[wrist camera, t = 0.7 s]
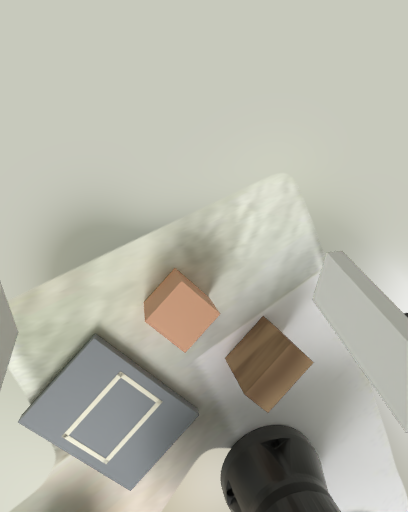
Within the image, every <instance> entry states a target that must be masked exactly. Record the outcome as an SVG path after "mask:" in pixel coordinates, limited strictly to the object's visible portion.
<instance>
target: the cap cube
mask: <svg viewBox="0 0 408 512" xmlns="http://www.w3.org/2000/svg"><path fill="white" fill-rule="evenodd" d="M144 313H145V322H146V323H148V324H149V325H150V326H151V327H153V328H154V329H155V330H156V331H158V332H159V333H160V334H162V335H163V336H164V337H165V338H167V339H168V340H169V341H171V342H172V343H173V344H174V345H176V346H177V347H178V348H179V349H181V350H182V351H183V352H186V351H187V350H188V349H189V348H190V347H191V346H192V345H193V344H194V343H195V341H196V340H197V339H198V338H199V337H200V336H201V335H202V334H203V333H204V331H205V330H206V329H207V328H208V327H209V326H210V325H211V324H212V323H213V321H214V320H215V319H216V318H217V317H218V316H219V315H220V313H219V311H218V310H217V309H216V307H215V306H214V304H213V303H212V301H211V300H210V299H209V297H208V296H207V295H206V294H205V293H203V292H202V291H201V290H200V289H199V288H198V287H197V286H195V285H194V284H193V283H192V282H191V281H190V280H188V279H187V278H186V277H185V276H184V275H183V274H181V273H180V272H179V271H178V270H177V269H176V268H174V269H173V271H172V272H171V273H170V274H169V275H168V276H167V277H166V278H165V279H164V281H163V282H162V283H161V284H160V285H159V286H158V287H157V288H156V289H155V290H154V292H153V293H152V294H151V295H150V296H149V297H148V298H147V299H146V300H145V302H144Z"/></svg>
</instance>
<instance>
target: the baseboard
mask: <svg viewBox="0 0 408 512" xmlns="http://www.w3.org/2000/svg"><path fill="white" fill-rule="evenodd" d="M198 416H199V414H198V410H197V408H196V407H194V406H193V405H192V404H190V403H189V402H187V401H186V400H185V399H183V398H182V397H181V396H179V395H178V394H177V393H175V392H174V391H173V390H171V389H170V388H169V387H167V386H166V385H164V384H163V383H162V382H160V381H159V380H158V379H156V378H155V377H154V376H152V375H151V374H150V373H148V372H147V371H145V370H144V369H143V368H141V367H140V366H139V365H137V364H136V363H135V362H133V361H132V360H131V359H129V358H128V357H126V356H125V355H124V354H122V353H121V352H120V351H118V350H117V349H116V348H114V347H113V346H112V345H110V344H109V343H107V342H106V341H105V340H103V339H102V338H101V337H99V336H98V335H97V334H94V335H93V337H92V338H91V339H90V340H89V341H88V342H87V343H86V344H85V345H84V347H83V348H82V349H81V350H80V351H79V352H78V353H77V354H76V355H75V356H74V358H73V359H72V360H71V361H70V362H69V363H68V364H67V365H66V366H65V368H64V369H63V370H62V371H61V372H60V373H59V374H58V375H57V376H56V378H55V379H54V380H53V381H52V382H51V383H50V384H49V385H48V386H47V388H46V389H45V390H44V391H43V392H42V393H41V394H40V395H39V396H38V397H37V399H36V400H35V401H34V402H33V403H32V404H31V405H30V406H29V408H28V409H27V410H26V411H25V412H24V413H23V414H22V416H21V418H20V419H19V421H18V423H20V424H21V425H23V426H25V427H26V428H28V429H30V430H31V431H33V432H35V433H36V434H38V435H39V436H41V437H43V438H45V439H46V440H48V441H49V442H51V443H53V444H54V445H56V446H58V447H59V448H61V449H62V450H64V451H66V452H67V453H69V454H71V455H72V456H74V457H76V458H77V459H79V460H80V461H82V462H84V463H85V464H87V465H89V466H90V467H92V468H94V469H95V470H97V471H98V472H100V473H102V474H103V475H105V476H107V477H108V478H110V479H112V480H113V481H115V482H117V483H118V484H120V485H121V486H123V487H125V488H126V489H128V490H130V491H131V490H132V489H133V488H134V487H135V486H136V484H137V483H138V482H139V481H140V480H141V479H142V478H143V477H144V476H145V474H146V473H147V472H148V471H149V470H150V469H151V468H152V467H153V466H154V464H155V463H156V462H157V461H158V460H159V459H160V458H161V457H162V456H163V455H164V453H165V452H166V451H167V450H168V449H169V448H170V447H171V446H172V445H173V443H174V442H175V441H176V440H177V439H178V438H179V437H180V436H181V435H182V433H183V432H184V431H185V430H186V429H187V428H188V427H189V426H190V425H191V423H192V422H193V421H194V420H195V419H196V418H197V417H198Z"/></svg>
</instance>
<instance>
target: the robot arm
mask: <svg viewBox="0 0 408 512" xmlns="http://www.w3.org/2000/svg"><path fill="white" fill-rule="evenodd" d="M312 300H313V301H314V303H315V304H316V306H317V307H318V308H319V310H320V311H321V313H322V314H323V316H324V317H325V318H326V320H327V321H328V323H329V324H330V326H331V327H332V328H333V330H334V331H335V333H336V334H337V335H338V337H339V338H340V340H341V341H342V343H343V344H344V345H345V347H346V348H347V350H348V351H349V353H350V354H351V355H352V357H353V358H354V360H355V361H356V362H357V364H358V365H359V367H360V368H361V370H362V371H363V372H364V374H365V375H366V377H367V378H368V380H369V381H370V382H371V384H372V385H373V387H374V388H375V389H376V391H377V392H378V394H379V395H380V396H381V398H382V399H383V401H384V402H385V404H386V405H387V407H388V408H389V409H390V411H391V412H392V414H393V415H394V416H395V418H396V419H397V421H398V422H399V423H400V425H401V426H402V428H403V429H404V431H405V432H406V433H407V432H408V313H403V312H402V311H400V309H399V308H397V306H396V305H395V304H394V303H393V302H392V301H391V300H390V299H389V298H388V297H387V296H386V295H385V294H384V293H383V292H382V291H381V290H380V289H379V288H378V287H377V286H376V285H375V284H374V283H373V282H372V281H371V280H370V279H369V278H368V277H367V276H366V275H365V274H364V273H363V272H362V271H361V270H360V269H359V268H358V267H357V266H356V265H355V263H354V262H353V261H352V260H351V259H350V258H349V257H347V255H346V254H345V253H344V252H343V251H337V252H327V253H326V256H325V260H324V263H323V266H322V269H321V273H320V276H319V279H318V283H317V286H316V289H315V292H314V296H313V299H312ZM17 335H18V330H17V327H16V324H15V321H14V318H13V316H12V313H11V310H10V307H9V305H8V302H7V299H6V296H5V294H4V291H3V288H2V285H1V282H0V390H1V387H2V383H3V380H4V377H5V374H6V370H7V367H8V364H9V361H10V358H11V354H12V351H13V348H14V345H15V341H16V338H17ZM221 486H222V490H223V493H224V497H225V500H226V503H227V505H228V507H229V509H230V510H231V512H341V511H340V510H339V508H338V507H337V505H336V504H335V502H334V501H333V499H332V497H331V496H330V494H329V493H328V489H327V486H326V482H325V478H324V474H323V471H322V467H321V463H320V460H319V457H318V455H317V453H316V451H315V449H314V448H313V446H312V445H311V443H310V442H309V441H308V439H307V438H306V437H305V436H304V435H303V434H302V433H301V432H299V431H298V430H296V429H294V428H291V427H287V426H281V425H273V426H266V427H262V428H259V429H257V430H254V431H252V432H250V433H249V434H247V435H245V436H244V437H243V438H241V439H240V440H239V441H238V442H237V443H236V444H235V445H234V446H233V447H232V449H231V450H230V451H229V453H228V455H227V456H226V458H225V461H224V463H223V466H222V470H221Z"/></svg>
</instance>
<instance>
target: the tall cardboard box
mask: <svg viewBox="0 0 408 512" xmlns="http://www.w3.org/2000/svg"><path fill="white" fill-rule="evenodd" d="M225 359H226V361H227V363H228V365H229V367H230V368H231V370H232V372H233V374H234V376H235V378H236V380H237V381H238V383H239V385H240V387H241V389H242V391H243V393H244V394H245V395H246V396H247V397H248V398H250V399H251V400H252V401H253V402H255V403H256V404H257V405H258V406H260V407H261V408H262V409H264V410H265V411H266V412H267V413H268V412H269V411H270V410H271V409H272V408H273V407H274V406H275V405H276V404H277V402H278V401H279V400H280V399H281V398H282V397H283V396H284V395H285V394H286V392H287V391H288V390H289V389H290V388H291V387H292V386H293V385H294V384H295V383H296V381H297V380H298V379H299V378H300V377H301V376H302V375H303V374H304V373H305V371H306V370H307V369H308V368H309V367H310V366H311V365H312V364H313V363H314V362H313V361H312V360H311V359H309V358H308V357H307V356H306V355H305V354H304V353H303V352H302V351H301V350H300V349H299V348H298V347H297V346H296V345H295V344H294V343H293V342H291V341H290V340H289V339H288V338H287V337H286V336H285V335H284V334H283V333H282V332H281V331H280V330H279V329H277V328H276V327H275V326H274V325H273V324H272V323H271V322H270V321H269V320H267V319H266V318H265V317H264V316H263V317H262V318H261V319H260V320H259V321H258V322H257V323H256V325H255V326H254V327H253V328H252V329H251V330H250V331H249V332H248V333H247V334H246V336H245V337H244V338H243V339H242V340H241V341H240V342H239V343H238V344H237V346H236V347H235V348H234V349H233V350H232V351H231V352H230V353H229V354H228V356H227V357H226V358H225Z"/></svg>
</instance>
